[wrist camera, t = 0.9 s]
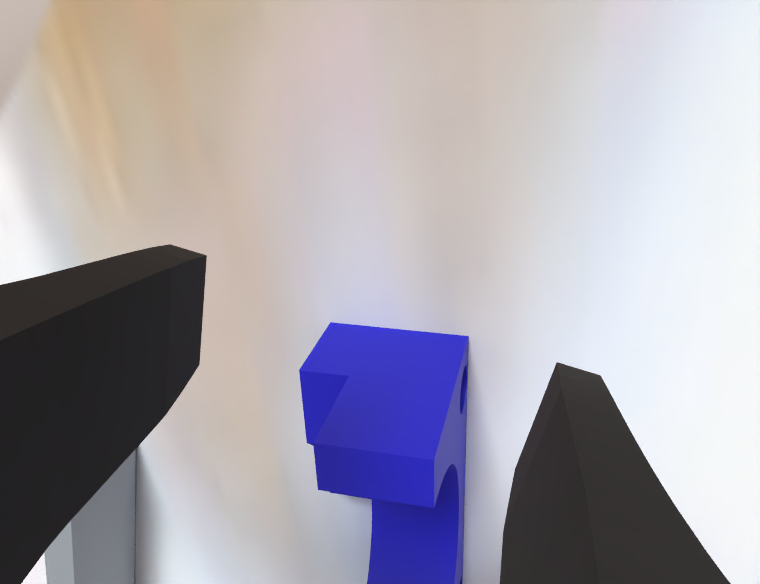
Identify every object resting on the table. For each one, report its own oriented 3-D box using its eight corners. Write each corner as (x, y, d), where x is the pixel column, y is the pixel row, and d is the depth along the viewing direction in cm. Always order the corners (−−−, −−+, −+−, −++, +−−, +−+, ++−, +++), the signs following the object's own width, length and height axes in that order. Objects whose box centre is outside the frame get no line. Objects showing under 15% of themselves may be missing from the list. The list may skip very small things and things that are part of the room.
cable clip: (331, 320, 22) (257, 434, 17) (469, 333, 21) (434, 460, 16) (351, 579, 27) (299, 726, 22) (462, 600, 26) (434, 759, 21)
